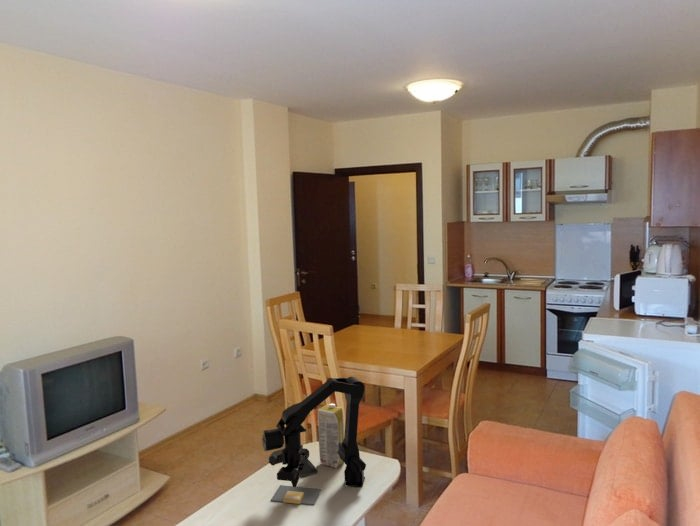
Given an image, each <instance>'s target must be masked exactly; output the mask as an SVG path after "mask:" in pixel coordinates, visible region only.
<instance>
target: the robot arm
mask: <svg viewBox="0 0 700 526" xmlns="http://www.w3.org/2000/svg"><path fill="white" fill-rule="evenodd" d="M365 391H366V386H365V384H364V383H363V382H362V381H361V380H359V379H358V378H357V377H355V376H349V377H336V378H335V377H329V378H327V380H326V381H325V382H324V383H323V384H322V385H320V386H319V387H317V389H315V390H314V391H313V392H312V393H311V394H309V395H308V396H307V397H305V398H304V399H303V400H301V401H300V402H298V403H294V404H292V405H290V406H289V407H287V408H285V409H284V410H283V411H282V412H281V418H280V419H279V421H278V422H277V424H276V428H275V429H274V428H273V429H266V430H263V434H262V438H261V442H262V447H263V451H264V452H268V451H272V453H270V455H269V456H268V463H269V465H271V466H275V465H278V464H282V465H286V466H281V468H279V469H278V472H276V480H277V481H287V482H291V486H293V487H298V484H299V481H300V475H301V473H302V470H303V468H304V465H305V464H303V463H301V461H302V460H303V456H305V459H308V460H309V457H310V451H309V449H307V448H304V445H303V444H302V440H301V439H302V438H301V433H306V432H307V429H306V428H305V427H304V425H302V424H303V423H304V422H305V421H306V419H307V417H308V415H309V414H310V413H312V411H313V410H314V409H316V408H317V407H318V406H320V405H321V404H322V403H323V402H325V400H327V399H328V398H329V397H331V395H333V394H334V393H341V394H344V396H345V397H344V398H345V401H346V405H345V407H346V409H345V419H344V420H345V422H344V440H343V442H342V443H338V447H339V449H338V452H337V453H338V454H339V457H340V458H341V459H342V461H343V463H344V464H345V465H346V466H345V469H344V471H343V473H344V482H345V483H344V486H348V487H358V488H359V487H360V488H362V487H363V486H364V483H365V480H366V476H365V470H366V468H367V464H366V462H365V461H364V460H363V459H362V458H361V456H360V449H359V446H358V439H357V438H358V428H359V415H360V414H359V413H360V411H359V410H360V403H361V402H362V400H363V399H364V394H365ZM283 447H284V448H283ZM277 449H278V450H277ZM273 450H275V451H273Z"/></svg>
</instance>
